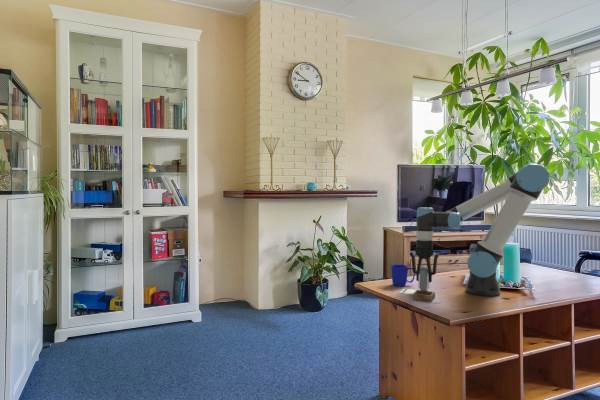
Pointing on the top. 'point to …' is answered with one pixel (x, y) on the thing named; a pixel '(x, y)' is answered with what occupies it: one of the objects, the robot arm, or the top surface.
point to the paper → (407, 291)
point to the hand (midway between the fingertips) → (423, 288)
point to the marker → (423, 278)
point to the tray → (424, 296)
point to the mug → (400, 275)
